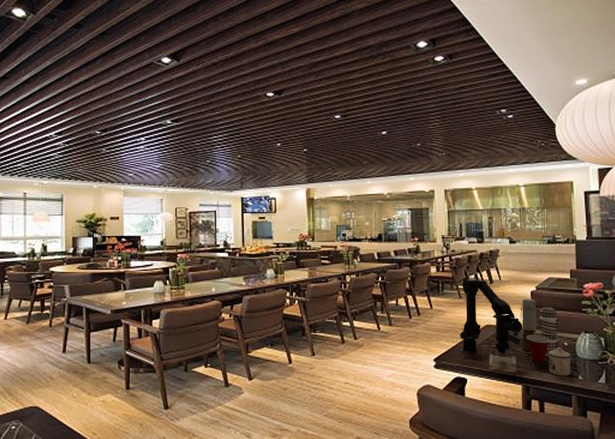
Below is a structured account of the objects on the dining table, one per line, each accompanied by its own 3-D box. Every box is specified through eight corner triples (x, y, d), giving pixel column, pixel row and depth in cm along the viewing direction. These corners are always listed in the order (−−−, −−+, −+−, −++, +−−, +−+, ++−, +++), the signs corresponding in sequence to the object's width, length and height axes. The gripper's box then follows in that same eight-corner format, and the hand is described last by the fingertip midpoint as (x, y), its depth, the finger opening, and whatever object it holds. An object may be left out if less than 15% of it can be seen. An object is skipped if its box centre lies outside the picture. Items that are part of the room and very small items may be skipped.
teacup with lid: (546, 368, 212) (546, 344, 212) (567, 370, 210) (566, 346, 210) (553, 377, 201) (553, 351, 201) (575, 378, 198) (575, 353, 198)
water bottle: (536, 341, 262) (536, 299, 262) (535, 344, 255) (535, 301, 255) (520, 339, 267) (519, 298, 267) (518, 342, 260) (517, 300, 260)
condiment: (538, 351, 241) (538, 329, 241) (530, 353, 237) (529, 331, 237) (525, 348, 247) (525, 327, 248) (517, 350, 243) (517, 329, 243)
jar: (495, 366, 215) (495, 354, 215) (495, 363, 221) (495, 351, 221) (509, 368, 213) (509, 356, 213) (508, 364, 219) (508, 352, 219)
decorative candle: (546, 350, 241) (546, 306, 242) (562, 355, 233) (561, 308, 233) (535, 353, 237) (534, 307, 238) (551, 357, 229) (550, 310, 229)
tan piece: (489, 369, 212) (489, 364, 212) (490, 359, 228) (490, 354, 228) (516, 372, 207) (516, 367, 207) (515, 361, 223) (515, 356, 223)
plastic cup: (538, 365, 217) (537, 341, 217) (522, 358, 228) (521, 336, 228) (555, 363, 220) (555, 339, 220) (539, 357, 231) (538, 334, 231)
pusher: (493, 367, 213) (493, 357, 213) (493, 365, 216) (493, 355, 216) (512, 369, 210) (512, 359, 210) (512, 368, 213) (511, 357, 213)
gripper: (520, 333, 210) (521, 366, 210) (518, 325, 227) (519, 354, 227) (495, 331, 215) (495, 363, 215) (495, 323, 232) (496, 352, 232)
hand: (502, 358), depth 222 cm, fingers closed
